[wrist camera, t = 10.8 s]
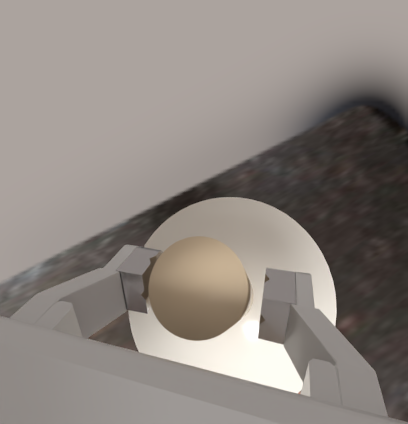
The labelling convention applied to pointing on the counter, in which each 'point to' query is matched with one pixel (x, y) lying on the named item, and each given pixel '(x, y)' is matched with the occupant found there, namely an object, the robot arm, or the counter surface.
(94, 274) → the robot arm
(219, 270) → the lid
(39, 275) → the counter surface
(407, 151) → the counter surface
